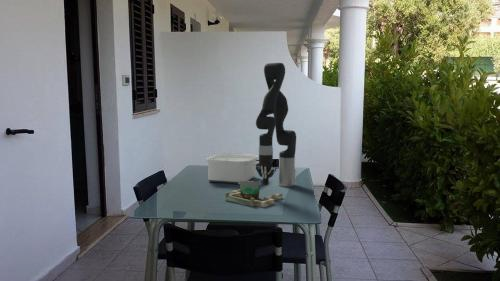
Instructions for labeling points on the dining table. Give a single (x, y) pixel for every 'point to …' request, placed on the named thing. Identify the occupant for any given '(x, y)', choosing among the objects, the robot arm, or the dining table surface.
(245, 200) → the trap lane
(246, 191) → the food container
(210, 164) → the pot
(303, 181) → the dining table surface
